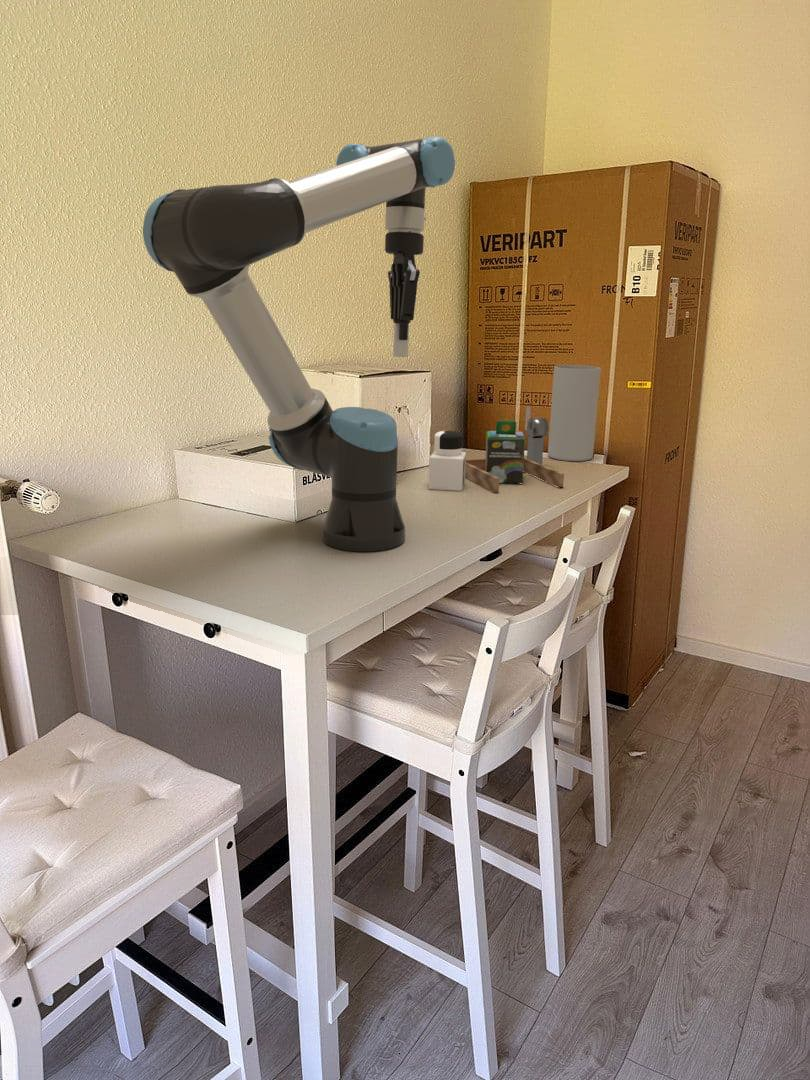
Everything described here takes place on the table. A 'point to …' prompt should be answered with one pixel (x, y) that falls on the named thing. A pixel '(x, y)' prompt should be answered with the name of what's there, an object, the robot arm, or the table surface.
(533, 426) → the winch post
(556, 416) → the cylinder vase
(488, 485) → the bay
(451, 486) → the container
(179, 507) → the table surface
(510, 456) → the chalk box
